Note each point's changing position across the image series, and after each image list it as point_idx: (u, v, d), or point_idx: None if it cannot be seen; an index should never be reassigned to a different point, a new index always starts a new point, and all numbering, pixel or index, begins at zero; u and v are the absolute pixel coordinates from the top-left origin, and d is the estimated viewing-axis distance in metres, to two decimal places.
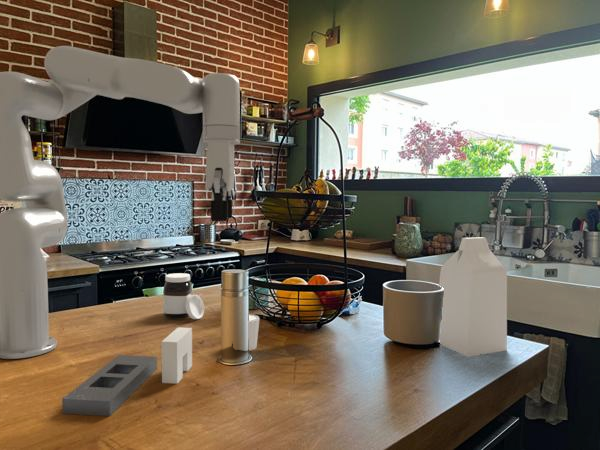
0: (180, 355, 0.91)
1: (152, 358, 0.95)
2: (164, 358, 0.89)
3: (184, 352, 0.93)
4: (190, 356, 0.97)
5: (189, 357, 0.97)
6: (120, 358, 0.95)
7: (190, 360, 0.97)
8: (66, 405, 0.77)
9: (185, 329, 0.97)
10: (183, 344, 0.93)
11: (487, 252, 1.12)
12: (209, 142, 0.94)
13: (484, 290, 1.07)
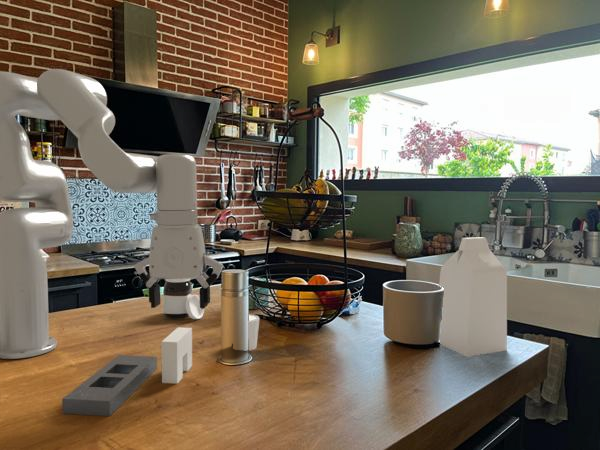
0: (180, 355, 0.91)
1: (152, 358, 0.95)
2: (164, 358, 0.89)
3: (184, 352, 0.93)
4: (190, 356, 0.97)
5: (189, 357, 0.97)
6: (120, 358, 0.95)
7: (190, 360, 0.97)
8: (66, 405, 0.77)
9: (185, 329, 0.97)
10: (183, 344, 0.93)
11: (487, 252, 1.12)
12: (195, 228, 0.89)
13: (484, 290, 1.07)
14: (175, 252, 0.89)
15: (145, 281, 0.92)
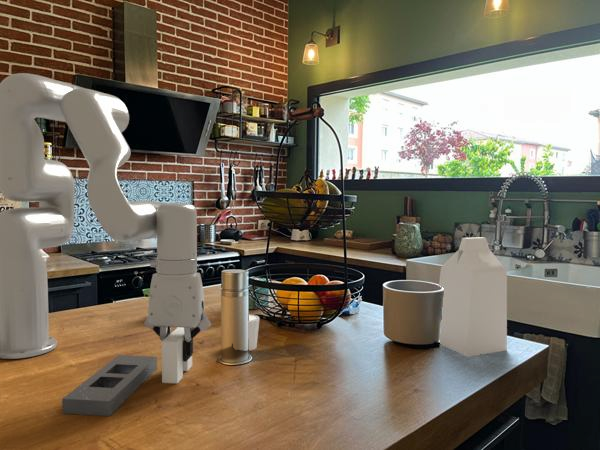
0: (180, 355, 0.91)
1: (152, 358, 0.95)
2: (164, 358, 0.89)
3: None
4: None
5: (190, 357, 0.97)
6: (120, 358, 0.95)
7: (190, 360, 0.97)
8: (66, 405, 0.77)
9: None
10: None
11: (487, 252, 1.12)
12: (195, 277, 0.90)
13: (484, 290, 1.07)
14: (174, 301, 0.90)
15: (159, 334, 0.93)
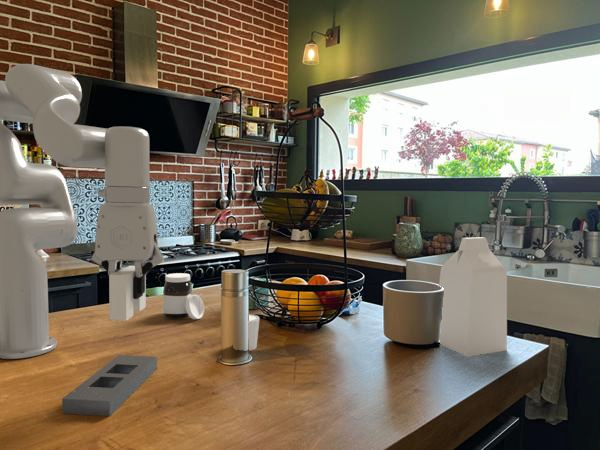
0: (131, 291, 0.85)
1: (152, 358, 0.95)
2: (112, 293, 0.83)
3: None
4: (143, 296, 0.91)
5: (142, 297, 0.90)
6: (120, 358, 0.95)
7: (143, 300, 0.91)
8: (66, 405, 0.77)
9: None
10: None
11: (487, 252, 1.12)
12: (146, 207, 0.84)
13: (484, 290, 1.07)
14: (123, 232, 0.83)
15: (107, 269, 0.86)
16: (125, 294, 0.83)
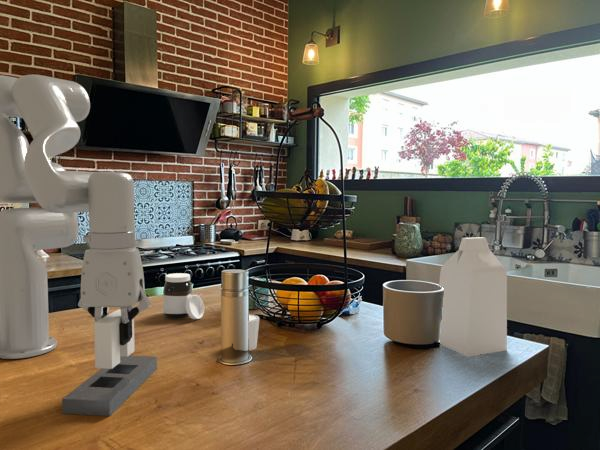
0: (116, 338, 0.83)
1: (152, 358, 0.95)
2: (97, 341, 0.81)
3: None
4: (131, 340, 0.89)
5: (130, 341, 0.89)
6: (120, 358, 0.95)
7: (132, 345, 0.90)
8: (66, 405, 0.77)
9: None
10: None
11: (487, 252, 1.12)
12: (130, 252, 0.82)
13: (484, 290, 1.07)
14: (108, 278, 0.82)
15: (94, 315, 0.85)
16: (110, 342, 0.81)
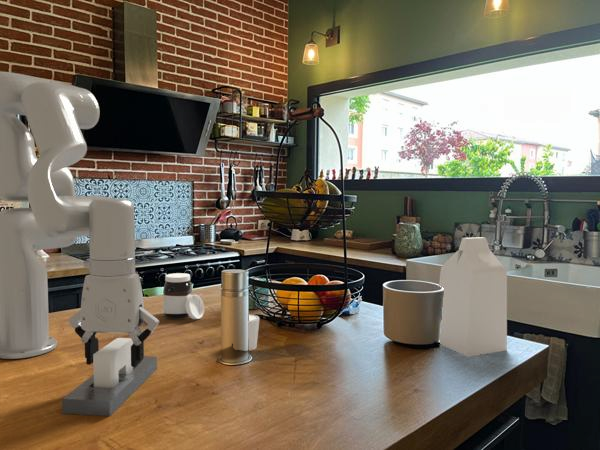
0: (115, 369, 0.84)
1: (152, 358, 0.95)
2: (96, 372, 0.82)
3: (121, 365, 0.86)
4: (130, 369, 0.90)
5: (129, 370, 0.90)
6: None
7: None
8: (66, 405, 0.77)
9: (124, 340, 0.90)
10: (120, 357, 0.86)
11: (487, 252, 1.12)
12: (130, 279, 0.83)
13: (484, 290, 1.07)
14: (108, 304, 0.83)
15: (81, 335, 0.86)
16: (109, 374, 0.82)
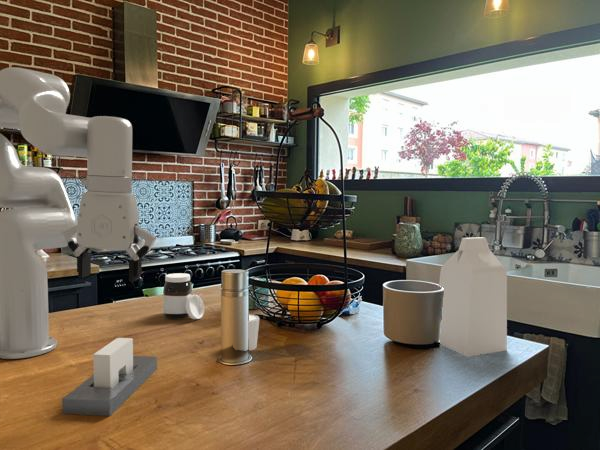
0: (115, 369, 0.84)
1: (152, 358, 0.95)
2: (96, 372, 0.82)
3: (121, 365, 0.86)
4: (130, 369, 0.90)
5: (129, 370, 0.90)
6: None
7: None
8: (66, 405, 0.77)
9: (124, 340, 0.90)
10: (120, 357, 0.86)
11: (487, 252, 1.12)
12: (126, 196, 0.84)
13: (484, 290, 1.07)
14: (104, 220, 0.84)
15: (73, 250, 0.88)
16: (109, 374, 0.82)
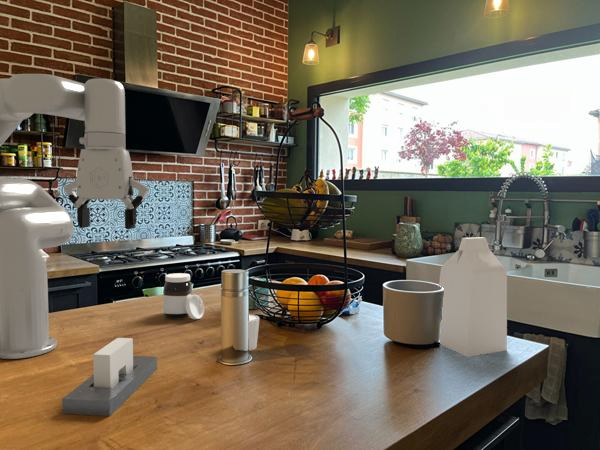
0: (115, 369, 0.84)
1: (152, 358, 0.95)
2: (96, 372, 0.82)
3: (121, 365, 0.86)
4: (130, 369, 0.90)
5: (129, 370, 0.90)
6: None
7: None
8: (66, 405, 0.77)
9: (124, 340, 0.90)
10: (120, 357, 0.86)
11: (487, 252, 1.12)
12: (121, 151, 0.94)
13: (484, 290, 1.07)
14: (101, 173, 0.93)
15: (74, 202, 0.96)
16: (109, 374, 0.82)
